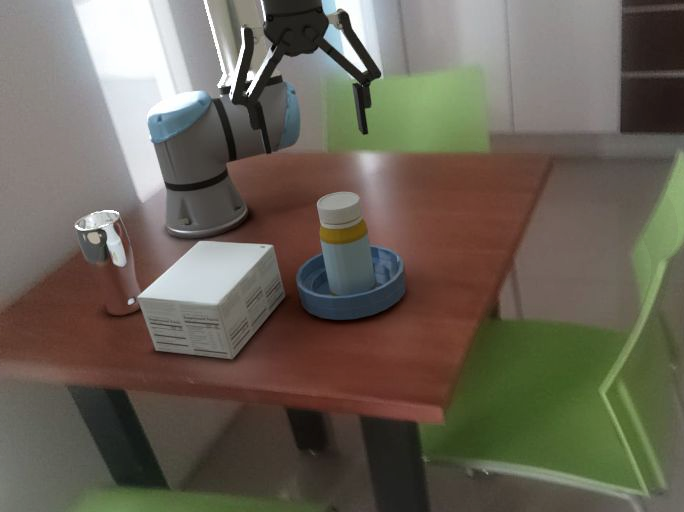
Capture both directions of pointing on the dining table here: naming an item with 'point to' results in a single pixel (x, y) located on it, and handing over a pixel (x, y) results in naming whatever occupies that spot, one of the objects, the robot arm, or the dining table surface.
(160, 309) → the supplement box
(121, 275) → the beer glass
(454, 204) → the dining table surface
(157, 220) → the dining table surface
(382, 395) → the dining table surface
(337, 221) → the bottle
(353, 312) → the bowl
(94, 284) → the dining table surface
